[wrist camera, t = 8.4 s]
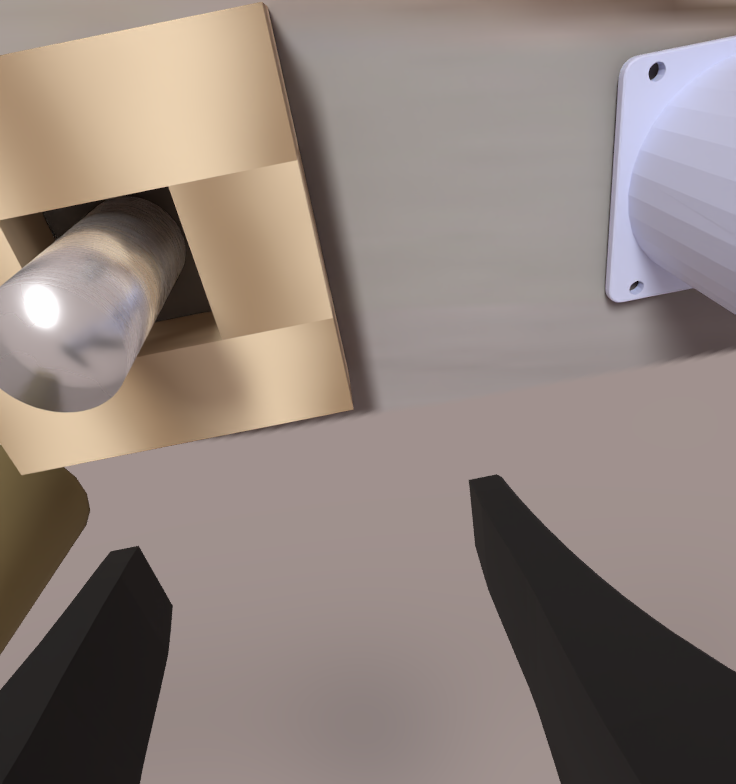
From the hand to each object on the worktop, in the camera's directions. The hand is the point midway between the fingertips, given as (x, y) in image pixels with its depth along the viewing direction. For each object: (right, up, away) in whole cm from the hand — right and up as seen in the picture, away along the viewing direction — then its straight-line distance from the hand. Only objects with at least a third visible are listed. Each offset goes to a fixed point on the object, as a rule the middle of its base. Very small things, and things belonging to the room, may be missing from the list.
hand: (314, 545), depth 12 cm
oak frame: (-6, +8, +7) cm, 12 cm away
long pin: (-7, +8, +6) cm, 12 cm away
